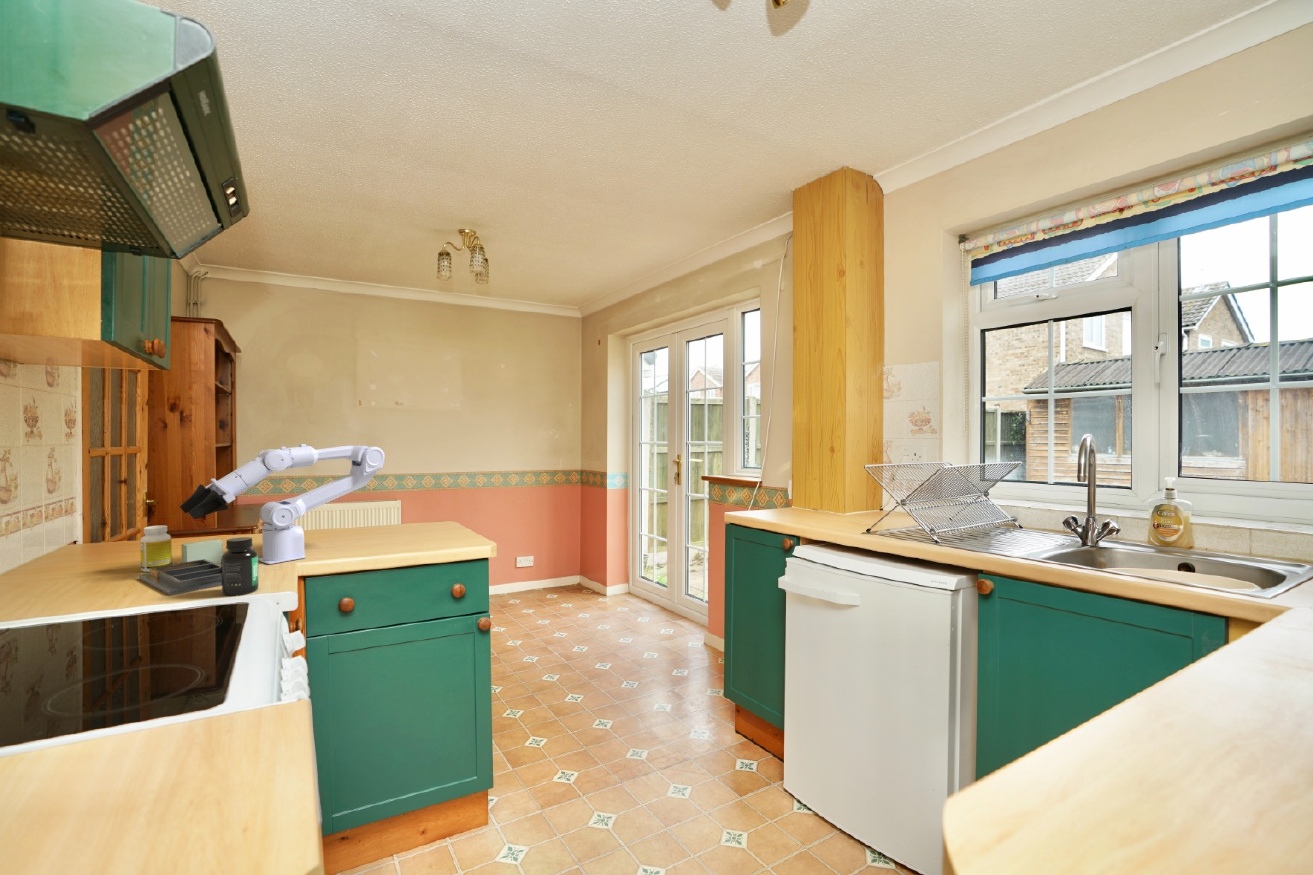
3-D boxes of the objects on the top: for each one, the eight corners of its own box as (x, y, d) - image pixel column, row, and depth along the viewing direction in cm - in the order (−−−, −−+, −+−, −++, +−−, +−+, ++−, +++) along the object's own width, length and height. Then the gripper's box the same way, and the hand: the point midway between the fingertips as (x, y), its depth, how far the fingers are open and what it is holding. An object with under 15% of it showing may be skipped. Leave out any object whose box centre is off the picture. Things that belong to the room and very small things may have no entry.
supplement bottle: (265, 590, 139) (263, 537, 138) (232, 597, 133) (231, 543, 132) (248, 585, 142) (247, 534, 141) (215, 593, 136) (214, 540, 135)
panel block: (217, 560, 166) (217, 538, 166) (223, 562, 164) (222, 540, 164) (182, 566, 160) (181, 543, 159) (187, 568, 157) (186, 545, 157)
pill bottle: (178, 566, 159) (177, 524, 159) (156, 572, 153) (155, 529, 152) (156, 566, 160) (155, 524, 159) (134, 572, 153) (133, 528, 153)
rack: (212, 566, 159) (212, 557, 159) (246, 580, 146) (246, 570, 146) (139, 579, 147) (138, 568, 147) (169, 595, 134) (169, 584, 134)
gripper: (221, 463, 162) (168, 495, 154) (240, 472, 153) (184, 506, 145) (238, 484, 165) (186, 516, 157) (257, 494, 156) (204, 528, 148)
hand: (186, 513), depth 151 cm, fingers open, 7 cm apart
